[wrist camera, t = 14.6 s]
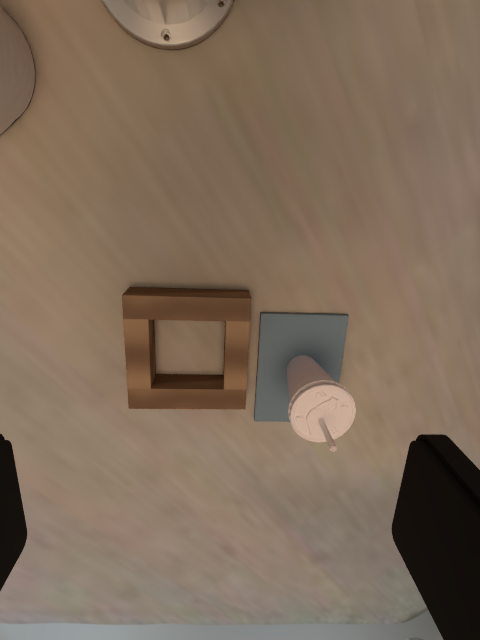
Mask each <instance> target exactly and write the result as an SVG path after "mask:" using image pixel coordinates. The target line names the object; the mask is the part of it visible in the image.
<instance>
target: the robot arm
mask: <svg viewBox="0 0 480 640" xmlns="http://www.w3.org/2000/svg"><path fill="white" fill-rule="evenodd" d="M233 1H234V0H102V2H103V3H104V5H105V7H106V8H107V10H108V12H109V13H110V14H111V16H112V17H113V18H114V19H115V21H116V22H117V23H118V24H119V25H120V26H121V27H122V28H123V29H124V30H125V31H126V32H127V33H129V34H130V35H131V36H132V37H134V38H136V39H137V40H139V41H141V42H143V43H144V44H147V45H150V46H153V47H156V48H162V49H170V50H172V49H182V48H186V47H189V46H192V45H195V44H197V43H199V42H201V41H202V40H204V39H206V38H207V37H209V36H210V35H211V34H212V33H213V32H214V31H215V30H216V29H217V28H218V27H219V26H220V24H221V23H222V22H223V20H224V19H225V17H226V16H227V14H228V12H229V10H230V8H231V6H232V3H233ZM219 3H223V4H224V6H223V7H219V6H218V4H219ZM165 36H169V37H170V39H169V40H168V41H165V40H164V38H165ZM392 535H393V539H394V542H395V544H396V546H397V548H398V550H399V552H400V554H401V556H402V558H403V560H404V562H405V564H406V566H407V568H408V570H409V572H410V574H411V576H412V578H413V580H414V582H415V584H416V586H417V588H418V590H419V592H420V594H421V596H422V598H423V600H424V602H425V604H426V606H427V608H428V610H429V612H430V614H431V616H432V618H433V620H434V622H435V624H436V625H437V628H438V630H439V632H440V633H441V635H442V637H443V639H444V640H480V470H479V469H478V468H477V467H476V466H475V465H474V464H473V463H472V462H471V460H470V459H469V458H468V457H467V456H466V455H465V454H464V453H463V452H462V451H461V450H460V449H459V448H458V447H457V446H456V445H455V444H454V442H453V441H452V440H451V439H450V438H449V437H447V436H446V435H419V436H418V437H417V439H416V441H412V442H411V443H410V446H409V450H408V455H407V459H406V464H405V469H404V473H403V478H402V482H401V487H400V491H399V496H398V500H397V505H396V509H395V514H394V519H393V523H392ZM26 539H27V528H26V522H25V516H24V511H23V505H22V500H21V494H20V488H19V483H18V477H17V472H16V466H15V460H14V455H13V449H12V445H11V442H10V441H8V440H5V439H4V437H3V435H2V434H0V591H1V589H2V587H3V585H4V583H5V581H6V580H7V578H8V576H9V574H10V572H11V570H12V569H13V567H14V565H15V563H16V561H17V560H18V558H19V556H20V554H21V552H22V550H23V548H24V546H25V543H26Z"/></svg>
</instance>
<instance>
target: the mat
mask: <svg viewBox="0 0 480 640" xmlns="http://www.w3.org/2000/svg"><path fill="white" fill-rule="evenodd" d="M347 323H348V315H347V314H319V313H277V312H261V315H260V331H259V347H258V363H257V379H256V395H255V411H254V421H288V422H290V420H289V414H288V409H289V403H290V398H289V389H288V380H287V371H286V369H287V365H288V363H289V362H290V361H291V360H292V359H293V358H295V357H297V356H300V355H306V356H309V357H311V358H313V359H314V360H315V361H316V362H317V363H318V365H319V366H320V367H321V368H322V369H323V370H324V371H325V372H326V373H327V374H328V375H329V376H330V377H331V378H332V379H333V380H334V381H335V382H337V383H339V380H340V373H341V366H342V359H343V352H344V344H345V337H346V330H347Z"/></svg>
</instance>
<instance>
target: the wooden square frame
mask: <svg viewBox="0 0 480 640" xmlns="http://www.w3.org/2000/svg"><path fill="white" fill-rule="evenodd" d="M122 303H123V320H124V336H125V353H126V370H127V387H128V404H129V409H245V406H246V388H247V369H248V350H249V331H250V313H251V296H250V293H249V290H218V289H182V288H146V287H129V288H128V290H127V291H126V292H125V293H124V294H123V295H122ZM154 320H193V321H225V343H224V375H178V374H156V363H155V332H154Z"/></svg>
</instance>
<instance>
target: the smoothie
mask: <svg viewBox="0 0 480 640" xmlns="http://www.w3.org/2000/svg"><path fill="white" fill-rule="evenodd" d="M286 371H287V380H288V389H289V398H290V403H289V409H288V414H289V420H290V422H291V424H292V427H293V429H294V430H295V432H296V433H297V434H298V435H299V436H301V437H302V438H304V439H306V440H308V441H312V442H327V443H328V445H329V448H330V450H331V451H332V452H334V451H336V450H337V447H336V445H335V443H334V441H333V440H334V439H336V438H338V437H340V436H341V435H343V434H344V433H345V432H346V431H347V430H348V429H349V428H350V427H351V425H352V423H353V421H354V419H355V414H356V407H355V403H354V400H353V398H352V396H351V394H350V392H349V391H348V390H347V389H346V388H345V387H344V386H343V385H341V384H340V383H337V382H335V381H334V380H333V379H332V378H331V377H330V376H329V375H328V374H327V373H326V372H325V371H324V370H323V369H322V368H321V367H320V366H319V365H318V363H317V362H316V361H315V360H314V359H313V358H311V357H309V356H306V355H300V356H297V357H295V358H293V359H292V360H291V361H290V362H289V363H288V365H287V369H286Z"/></svg>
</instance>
